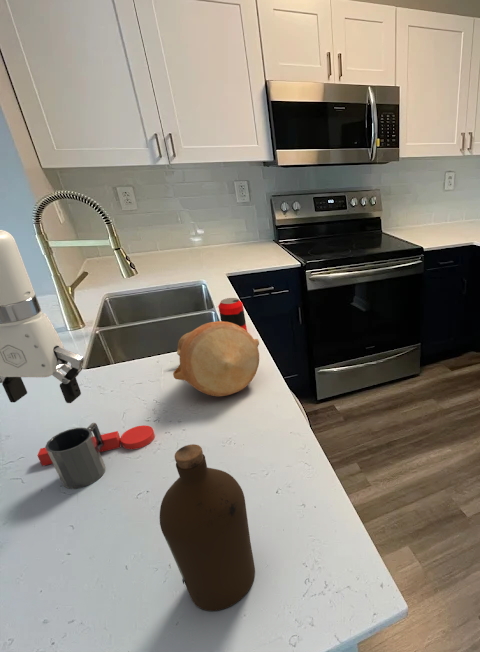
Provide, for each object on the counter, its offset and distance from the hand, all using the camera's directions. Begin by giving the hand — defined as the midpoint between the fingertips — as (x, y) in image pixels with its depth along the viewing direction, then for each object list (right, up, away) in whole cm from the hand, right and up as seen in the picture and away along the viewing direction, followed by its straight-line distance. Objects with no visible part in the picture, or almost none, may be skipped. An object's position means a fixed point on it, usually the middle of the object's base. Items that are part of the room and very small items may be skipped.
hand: (46, 398), depth 75 cm
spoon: (0, -13, +15) cm, 20 cm away
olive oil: (+36, -26, -12) cm, 46 cm away
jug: (+15, +1, +41) cm, 44 cm away
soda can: (+10, +14, +67) cm, 69 cm away
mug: (+1, -15, +10) cm, 18 cm away
